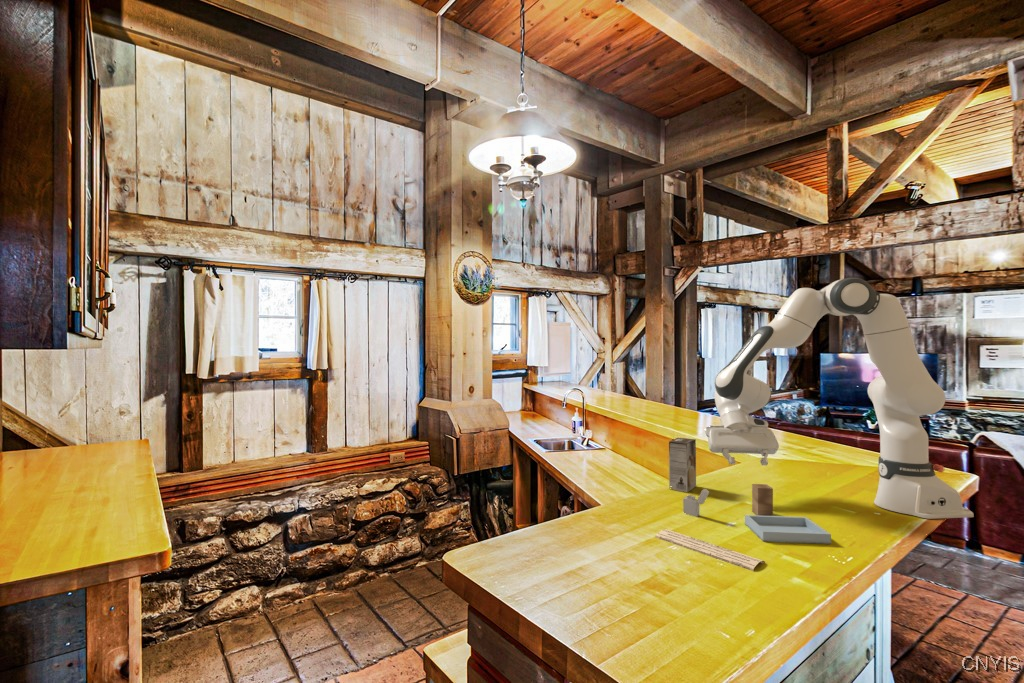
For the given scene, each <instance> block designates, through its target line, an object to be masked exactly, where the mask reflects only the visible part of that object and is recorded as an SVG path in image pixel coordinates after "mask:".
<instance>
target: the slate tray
mask: <svg viewBox="0 0 1024 683" xmlns="http://www.w3.org/2000/svg"><path fill="white" fill-rule="evenodd" d="M744 525H745V526H746V527H748V529H750V530H751V531H752V532H753V533H754V534H755V536H757V537H758V538H759V539H760V540H761V541H762V542H768V543H769V542H770V543H791V544H813V545H814V544H815V545H816V544H817V545H819V544H820V545H822V544H823V545H831V544H832V533H830V532H828V531H827V530H825V529H824V528H822V527H821V526H820V525H819V524H817V523H815V522H814V521H812V520H811V519H810V518H808V517H806V516H789V515H788V516H787V515H773V516H760V515H755V514H754V515H753V514H745V515H744Z"/></svg>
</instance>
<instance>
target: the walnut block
mask: <svg viewBox="0 0 1024 683" xmlns="http://www.w3.org/2000/svg"><path fill="white" fill-rule="evenodd" d="M751 492H752V493H751V497H752V498H751V499H752V500H751V504H752V506H751V507H752V508H751V512H752V513H753V514H754V515H760V516H774V488H773V487H771V486H770V485H768V484H765V483H763V484H761V483H752V484H751Z"/></svg>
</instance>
